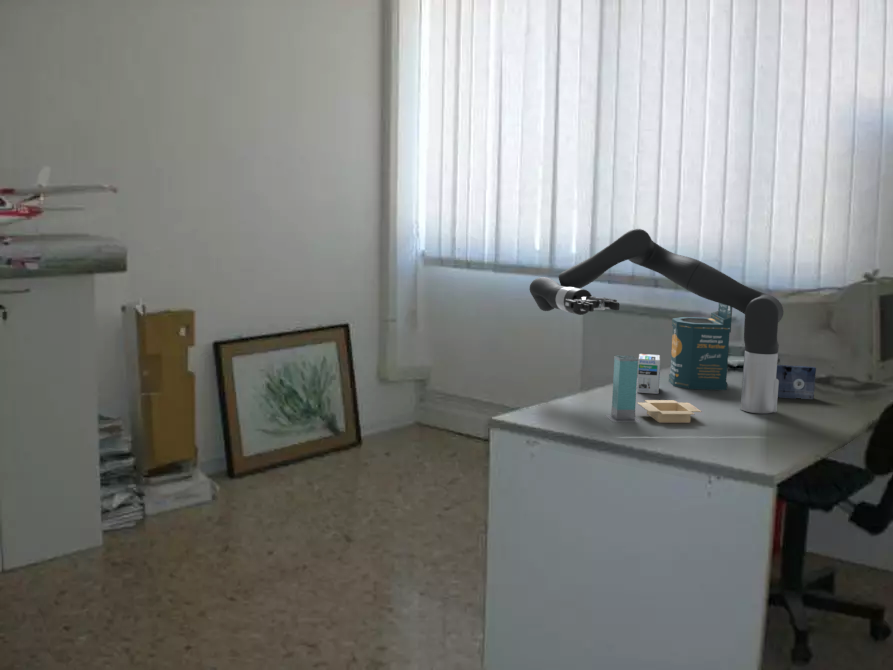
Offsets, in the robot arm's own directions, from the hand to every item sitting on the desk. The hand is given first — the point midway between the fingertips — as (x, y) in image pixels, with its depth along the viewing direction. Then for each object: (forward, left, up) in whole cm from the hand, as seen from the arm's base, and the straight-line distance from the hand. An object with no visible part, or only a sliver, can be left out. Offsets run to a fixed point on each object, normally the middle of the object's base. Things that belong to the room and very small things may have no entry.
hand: (605, 307), depth 286 cm
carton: (-17, +9, -30) cm, 35 cm away
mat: (-4, +10, -30) cm, 32 cm away
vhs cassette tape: (-63, -21, -30) cm, 73 cm away
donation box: (-42, -40, -30) cm, 65 cm away
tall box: (-4, +10, -29) cm, 31 cm away
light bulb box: (-23, -30, -30) cm, 48 cm away
